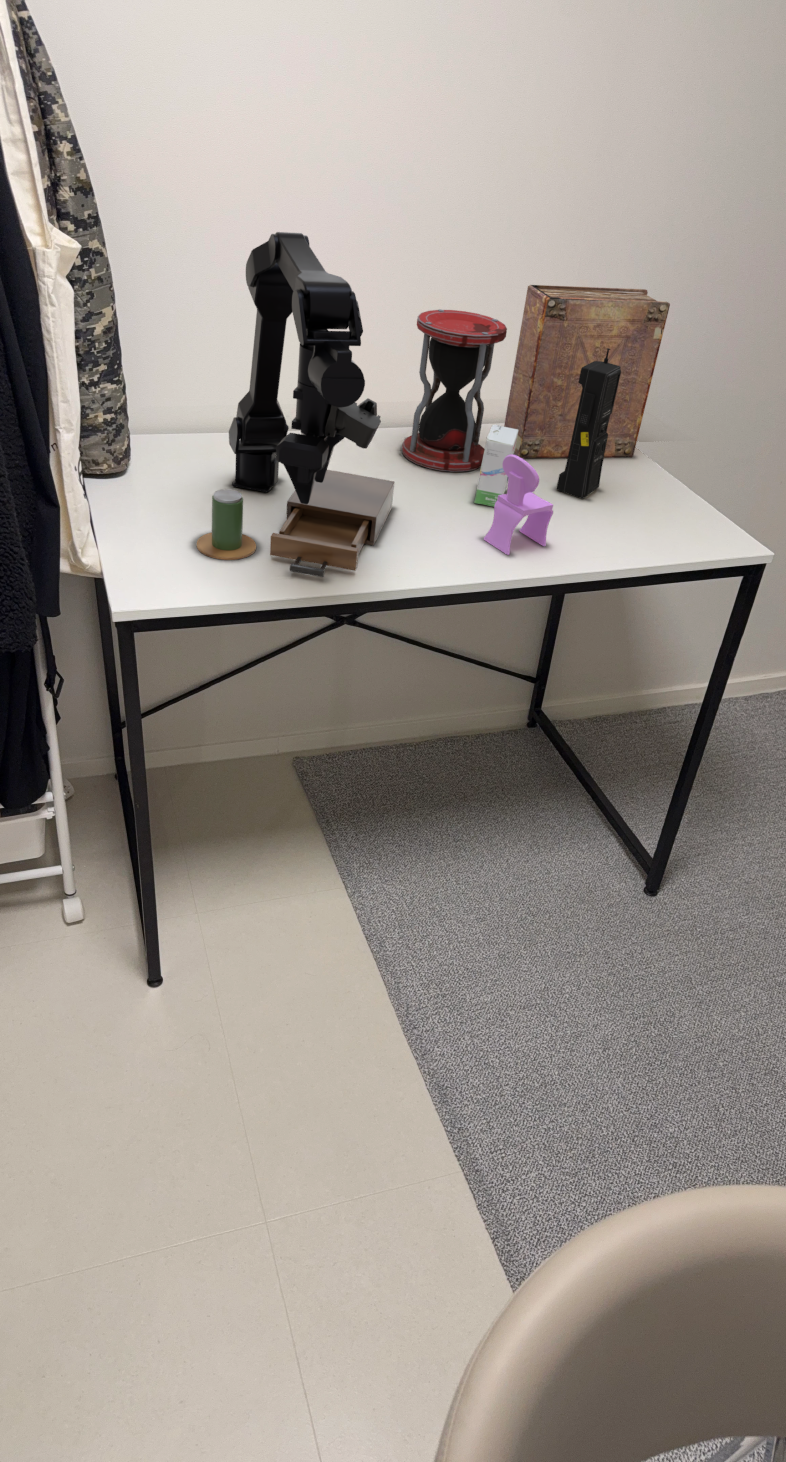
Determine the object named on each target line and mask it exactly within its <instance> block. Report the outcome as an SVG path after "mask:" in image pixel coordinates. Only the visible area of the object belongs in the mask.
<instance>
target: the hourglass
mask: <svg viewBox="0 0 786 1462" xmlns="http://www.w3.org/2000/svg"><path fill="white" fill-rule="evenodd" d="M416 327H417V329H418V330H419V331H420V332H422V334H423V340H422V347H421V357H420V362H419V364H420V365H419V371H418V373H419V378H420V381H421V383H422V384H423V395H422V399H421V401H420V402H419V404H418V405H416V408H415V410H414V414H413V422H412V430H411V435H409V436H407V437H405V438H404V440H403V441H402V444H401V445H402V448H401V451H402V455H403V456H404V457H405V458H406V459H407V460H408V461H410V462H412V463H414V464H415V465H417V466H420V467H424V468H426V469H430V470H434V471H435V470H436V471H441V472H453V473H457V472H459V473H460V472H468V471H474V470H477V469H479V468H481V465H482V460H483V455H484V450H485V447H483V446H482V445H481V444H480V437H481V431H482V424H483V417H484V411H485V406H484V405H485V404H484V401H483V400H482V397H481V390H482V386H483V384H484V381H485V380H486V379H487V378H488V376H489V374H490V372H491V368H492V362H493V355H494V350H495V349H494V348H495V345H496V344H498V343H500V342H501V343H502V342H503V341H504V340H505V339H506V337H507V330H508V328H507V326H506V324H505V323H503V322H501V321H500V320H499V319H497V318H493V317H492V316H488V315H484V314H481V313H476V312H472V311H466V310H456V309H440V308H439V309H433V310H432V309H431V310H426V311H423V312H420V313H419V314H418V316H417V319H416ZM428 361H429V363H430V366H431V370H432V371H433V379H432V385H431V383H430V381H429V380H428V377H427V366H428ZM471 382H473V384H472V386H471V388H470V389H469V390H468V391H467V394H466V395H465V399H464V398H463V397H462V395H461V394H460V393H461V392H460V391H461V390H462V389H464V388H465V387H466V386H467V385H469V384H470V383H471ZM441 384H442V385H443V387H444V388H445V392H443V393H442V394H441V395H439V397H437V398H436V399H435V400H433V399H434V398H435V395H436V393H438V391H439V389H440V386H441ZM474 400H475V402H476V406H477V412H476V419H475V417H474V413H473V403H474Z"/></svg>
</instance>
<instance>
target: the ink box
mask: <svg viewBox="0 0 786 1462" xmlns="http://www.w3.org/2000/svg"><path fill="white" fill-rule="evenodd" d="M518 431H519V430H518V429H513V428H508V427H504V425H500V424H492V425H491V427H490V430H489V432H488V434H487V437H486V441H485V446H484V449H485V450H484V455H483V460H482V465H481V467H480V470H479V475H478V480H477V485H476V486H477V487H476V492H475V496H474V501H473V504H479V505H484V506H489V507H493V508H494V506H495V503H496V501H497V498H498V495H502V494H506V492H507V489H508V476H507V475H506V473H505V472H504V470H503V460H504V458H505V457H506V456H507V455H511V454H512V455H515V453H514V451H515V446H516V441H517V436H518Z"/></svg>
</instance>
